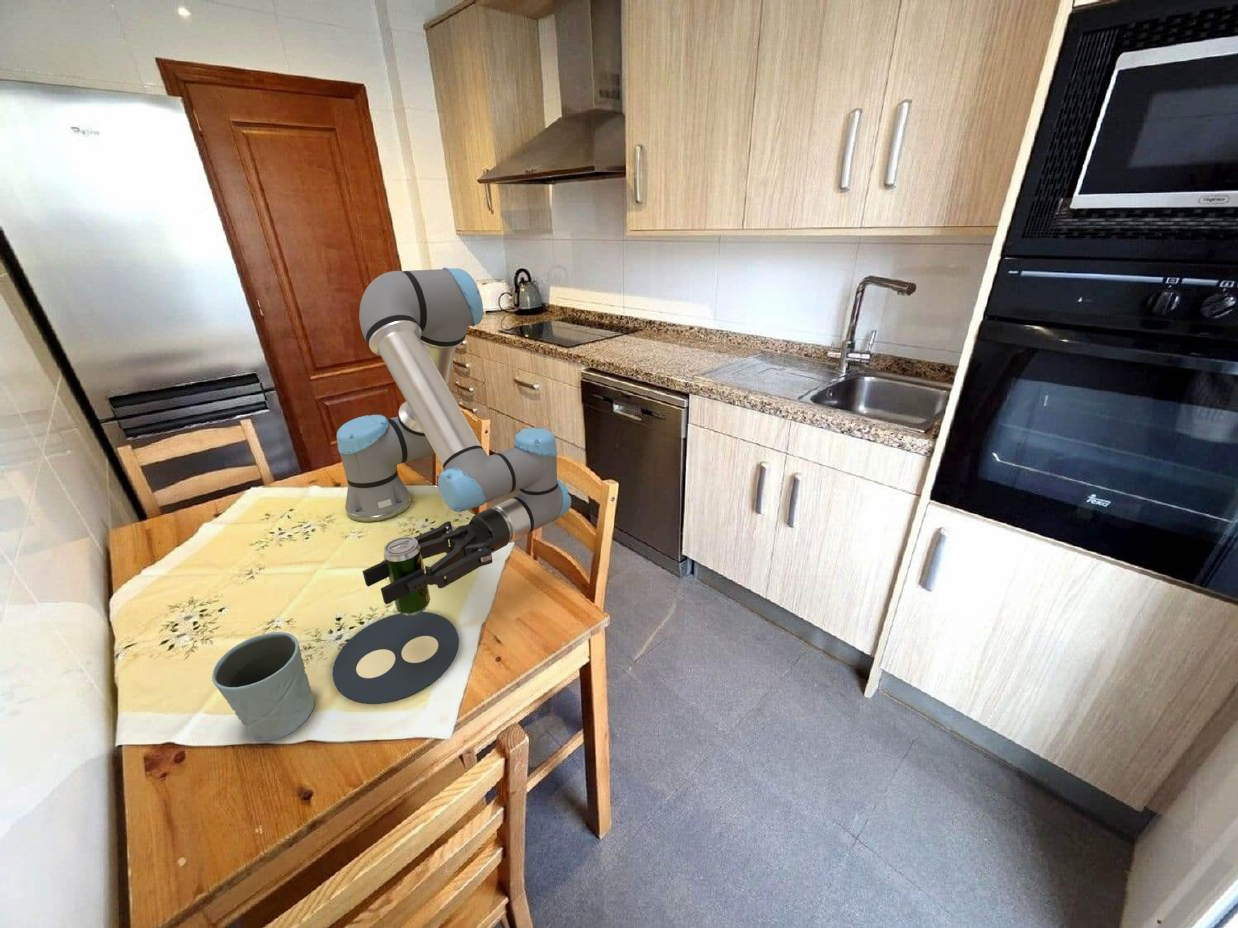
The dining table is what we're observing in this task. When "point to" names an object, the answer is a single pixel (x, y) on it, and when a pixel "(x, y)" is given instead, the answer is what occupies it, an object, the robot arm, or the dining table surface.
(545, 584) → the dining table surface
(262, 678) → the gray plant pot
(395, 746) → the dining table surface
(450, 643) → the spotted mat
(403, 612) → the beer can
